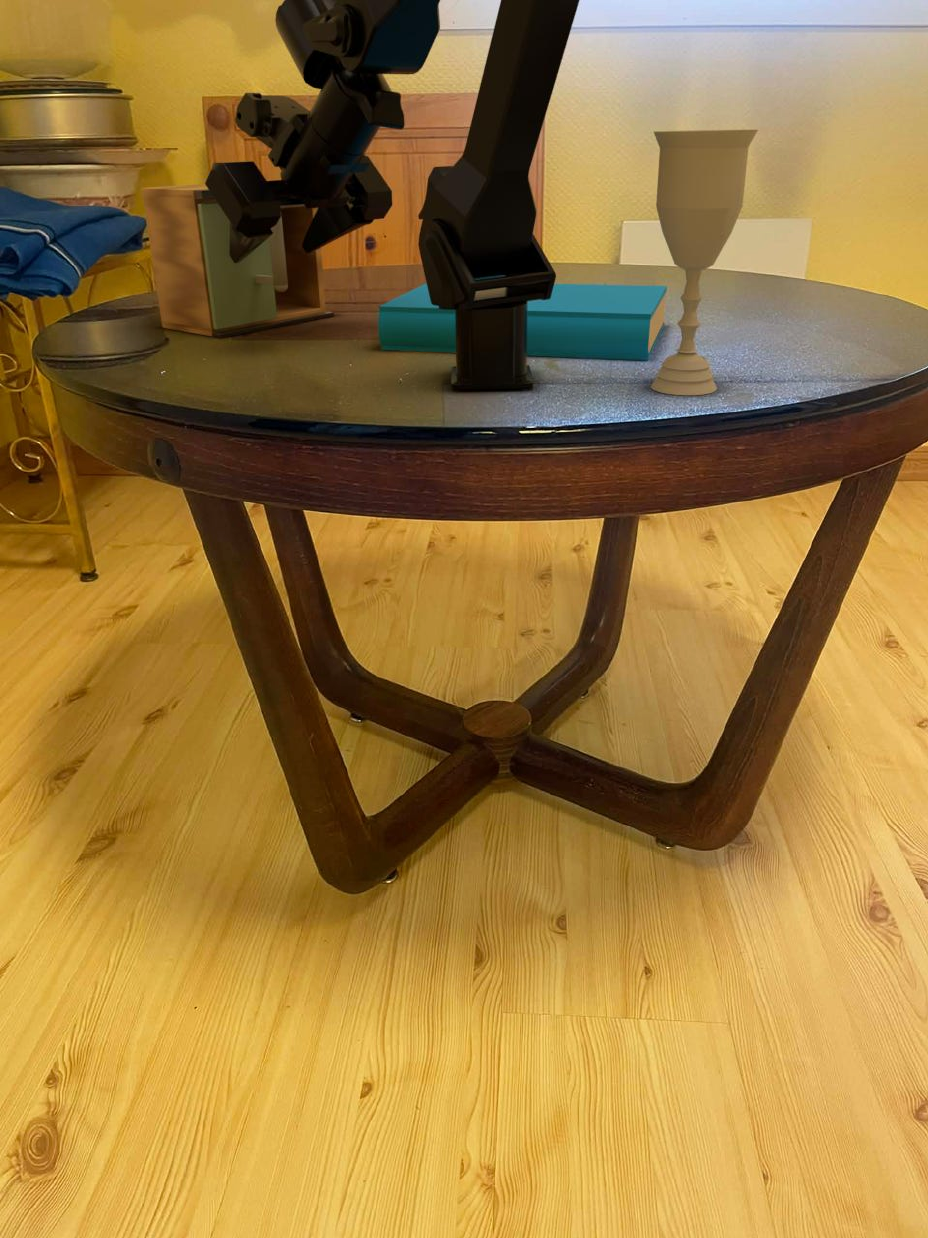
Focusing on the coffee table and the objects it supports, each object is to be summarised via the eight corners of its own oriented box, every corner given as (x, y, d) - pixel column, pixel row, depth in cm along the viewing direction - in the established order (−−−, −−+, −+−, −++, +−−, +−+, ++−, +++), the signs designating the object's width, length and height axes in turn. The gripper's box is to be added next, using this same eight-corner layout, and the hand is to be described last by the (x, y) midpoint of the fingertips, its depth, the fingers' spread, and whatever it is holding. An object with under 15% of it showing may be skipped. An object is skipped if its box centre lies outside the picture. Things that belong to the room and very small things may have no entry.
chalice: (747, 386, 76) (776, 129, 68) (701, 403, 72) (727, 130, 64) (667, 372, 81) (685, 130, 73) (619, 388, 76) (633, 131, 68)
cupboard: (334, 315, 108) (324, 181, 102) (220, 338, 98) (201, 190, 92) (276, 307, 114) (263, 179, 108) (162, 327, 103) (141, 187, 97)
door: (304, 322, 100) (293, 200, 95) (243, 334, 95) (228, 205, 90) (273, 317, 103) (261, 198, 98) (213, 329, 98) (197, 203, 93)
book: (428, 280, 104) (667, 281, 98) (430, 322, 106) (664, 325, 100) (375, 307, 89) (652, 310, 83) (378, 355, 91) (650, 361, 85)
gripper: (365, 61, 93) (298, 185, 104) (203, 54, 80) (147, 196, 91) (429, 153, 92) (354, 268, 103) (275, 161, 79) (209, 291, 90)
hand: (270, 254), depth 97 cm, fingers open, 9 cm apart
